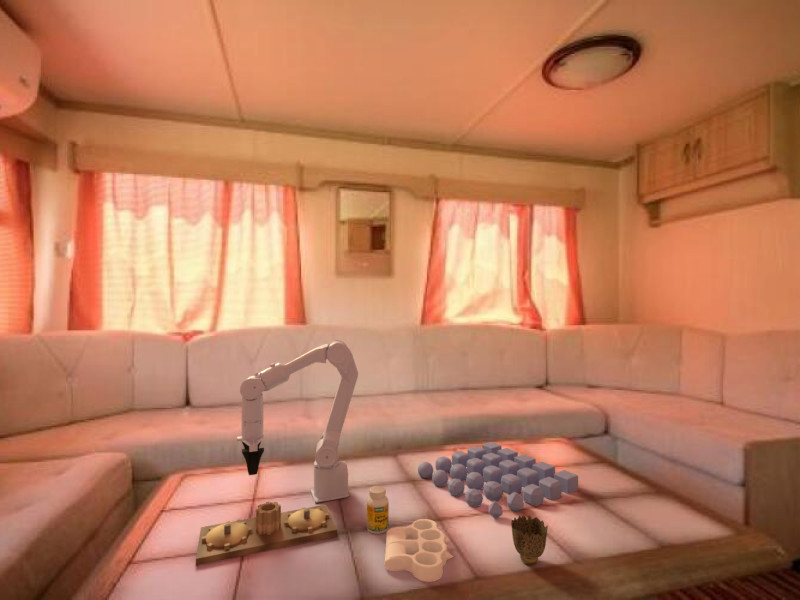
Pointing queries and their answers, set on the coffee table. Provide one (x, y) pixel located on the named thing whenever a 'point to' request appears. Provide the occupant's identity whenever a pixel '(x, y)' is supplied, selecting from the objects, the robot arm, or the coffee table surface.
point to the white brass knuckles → (417, 550)
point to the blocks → (499, 477)
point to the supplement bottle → (377, 510)
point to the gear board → (263, 535)
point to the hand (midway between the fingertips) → (252, 469)
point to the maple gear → (268, 518)
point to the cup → (529, 538)
